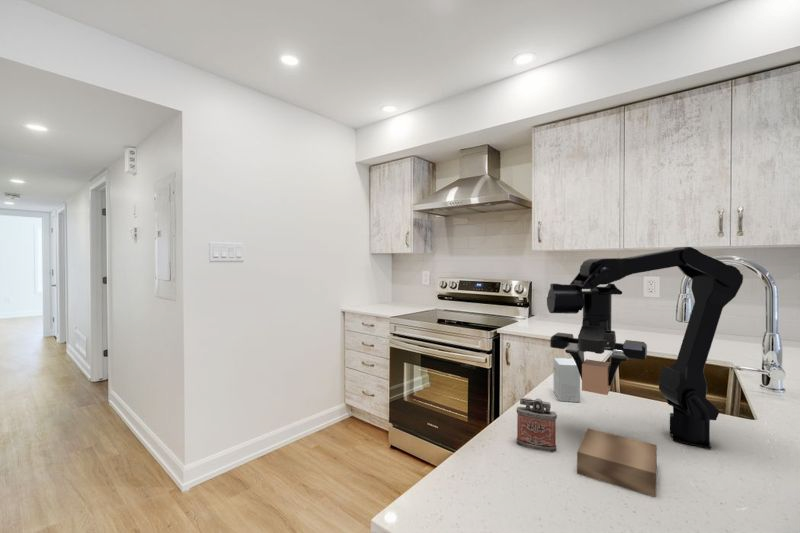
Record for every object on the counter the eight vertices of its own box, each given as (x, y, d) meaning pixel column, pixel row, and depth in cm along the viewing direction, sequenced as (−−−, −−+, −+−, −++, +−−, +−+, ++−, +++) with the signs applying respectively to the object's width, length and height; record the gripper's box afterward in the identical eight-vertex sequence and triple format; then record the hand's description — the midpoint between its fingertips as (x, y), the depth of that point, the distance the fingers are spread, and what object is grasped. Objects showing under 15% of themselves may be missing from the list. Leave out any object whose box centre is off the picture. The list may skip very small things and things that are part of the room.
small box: (580, 403, 103) (580, 365, 103) (558, 401, 104) (559, 364, 104) (572, 393, 111) (573, 358, 111) (553, 391, 112) (553, 357, 112)
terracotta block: (610, 388, 84) (610, 362, 84) (607, 395, 80) (607, 367, 80) (586, 384, 87) (586, 359, 87) (581, 390, 83) (582, 363, 83)
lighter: (556, 446, 78) (557, 399, 78) (556, 453, 75) (556, 405, 75) (517, 438, 82) (517, 393, 82) (515, 445, 79) (515, 399, 79)
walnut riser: (656, 465, 71) (656, 444, 71) (655, 497, 61) (655, 473, 61) (587, 447, 78) (587, 428, 78) (577, 473, 68) (577, 451, 68)
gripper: (543, 314, 82) (543, 383, 82) (643, 322, 71) (643, 403, 71) (556, 309, 91) (556, 372, 91) (647, 316, 80) (646, 387, 80)
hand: (596, 382), depth 83 cm, fingers closed on terracotta block, 5 cm apart
